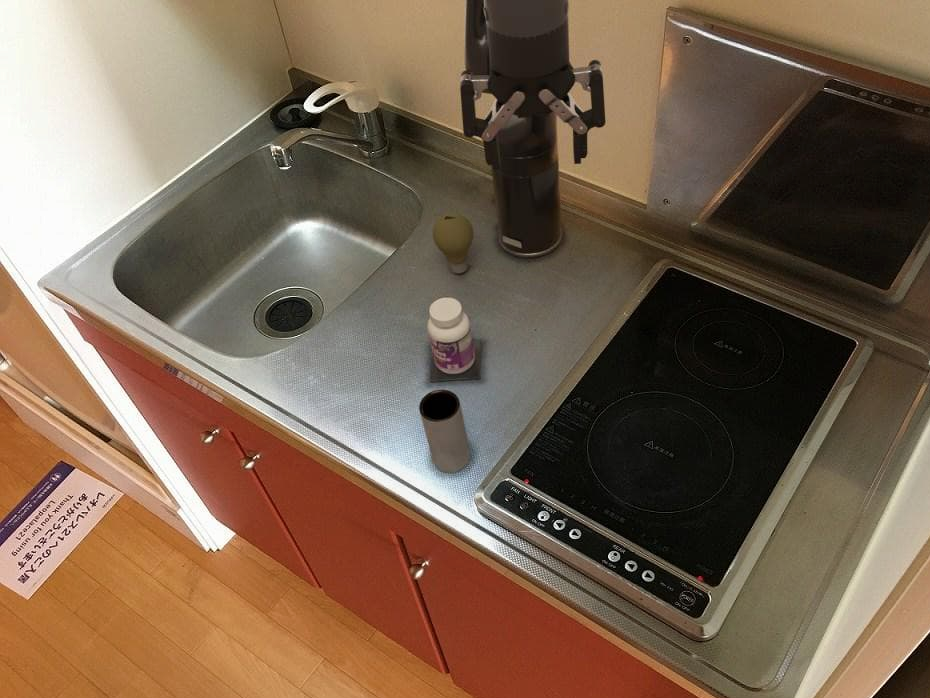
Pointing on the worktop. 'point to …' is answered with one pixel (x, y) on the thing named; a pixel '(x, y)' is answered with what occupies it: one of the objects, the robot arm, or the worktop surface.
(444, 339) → the pill bottle
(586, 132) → the robot arm
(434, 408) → the grey hollow cylinder
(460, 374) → the metal coaster
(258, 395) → the worktop surface
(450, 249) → the light bulb
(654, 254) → the worktop surface
